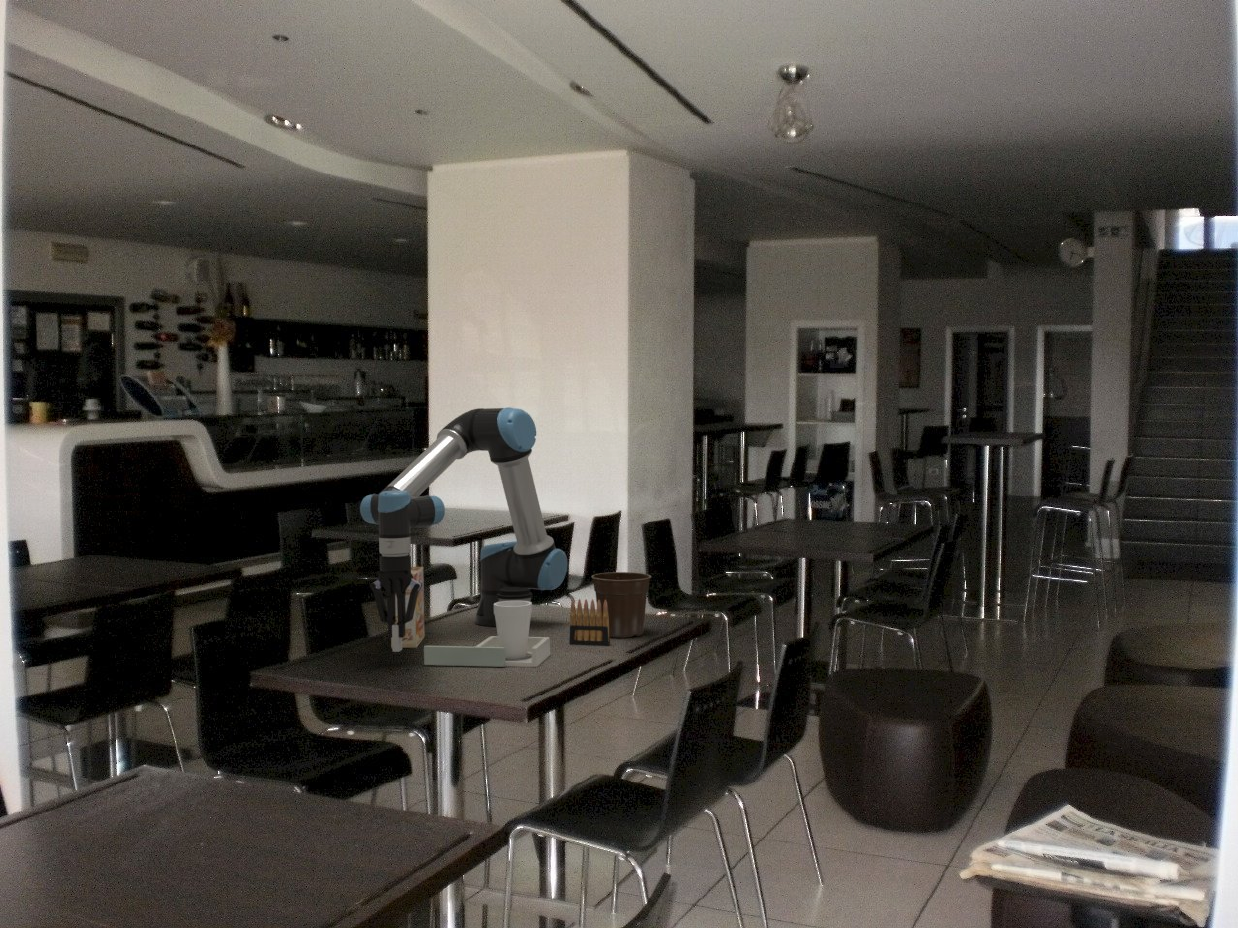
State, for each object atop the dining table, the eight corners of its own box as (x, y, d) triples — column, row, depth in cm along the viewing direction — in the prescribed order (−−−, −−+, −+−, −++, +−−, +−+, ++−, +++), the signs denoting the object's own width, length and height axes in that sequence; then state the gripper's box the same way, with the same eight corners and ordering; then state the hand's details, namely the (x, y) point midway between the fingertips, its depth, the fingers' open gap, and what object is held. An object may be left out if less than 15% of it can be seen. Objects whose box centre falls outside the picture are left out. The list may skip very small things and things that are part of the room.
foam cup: (498, 660, 299) (497, 607, 298) (491, 653, 308) (490, 601, 307) (536, 658, 301) (535, 605, 301) (528, 651, 310) (527, 599, 310)
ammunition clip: (610, 644, 323) (609, 599, 323) (608, 646, 321) (608, 600, 321) (571, 643, 326) (570, 598, 325) (569, 644, 324) (568, 599, 324)
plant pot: (649, 628, 346) (649, 570, 345) (654, 639, 330) (653, 579, 329) (591, 629, 345) (590, 572, 344) (593, 640, 329) (592, 580, 328)
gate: (425, 663, 301) (425, 645, 301) (505, 665, 298) (505, 647, 298) (424, 664, 300) (423, 646, 300) (504, 666, 297) (503, 648, 297)
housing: (491, 653, 314) (490, 636, 313) (550, 654, 311) (549, 637, 311) (474, 665, 300) (474, 647, 299) (536, 666, 297) (536, 648, 297)
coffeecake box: (417, 647, 323) (415, 573, 322) (390, 648, 323) (388, 573, 322) (425, 636, 338) (424, 565, 337) (399, 637, 338) (398, 566, 337)
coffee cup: (536, 642, 327) (535, 586, 327) (530, 649, 318) (529, 591, 317) (501, 642, 328) (500, 586, 327) (494, 649, 319) (492, 591, 318)
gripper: (363, 556, 298) (366, 653, 299) (415, 556, 296) (417, 654, 297) (375, 552, 306) (377, 647, 307) (425, 552, 303) (427, 648, 304)
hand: (397, 650), depth 302 cm, fingers closed
